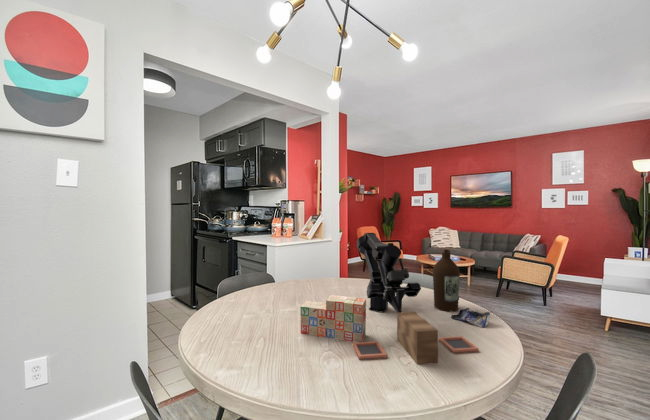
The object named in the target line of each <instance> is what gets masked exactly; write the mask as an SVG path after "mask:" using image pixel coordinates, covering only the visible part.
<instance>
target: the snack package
mask: <svg viewBox="0 0 650 420" xmlns="http://www.w3.org/2000/svg"><path fill="white" fill-rule="evenodd" d="M490 315H491V313H490V312H489V311H487V312H483V313H482V312H480V311H474V310H470V308H469V307H465V308H462V309H460V310H459V311H458V312H457V313H456V314H451V316H450V317H451V319H455V320H458V321H463V322H468V323H470V324H471V325H473V326H475V324H477V326H478V327H479V328H480V327H481V328H486V327H487V325H488V323H489V320H490ZM474 323H475V324H474Z"/></svg>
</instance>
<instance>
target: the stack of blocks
mask: <svg viewBox="0 0 650 420" xmlns="http://www.w3.org/2000/svg"><path fill="white" fill-rule="evenodd" d="M366 324H367V299H366V298H359V297H356V296H355V297H354V296H343V295H336V294H335V295H329V297H328V298H327V299H326V301H325V302H320V301H309V300H306V301H305V302H304V303H303V304H301V306H300V334H304V335H305V334H306V335H310V336H316V337H323V338H329V337H330V339H335V338H336V339H335V340H342V341H343V340H344V341H348V342H352V343H358V342H364V339H365V337H366V333H367V332H366V329H367V328H366V326H367V325H366Z"/></svg>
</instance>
